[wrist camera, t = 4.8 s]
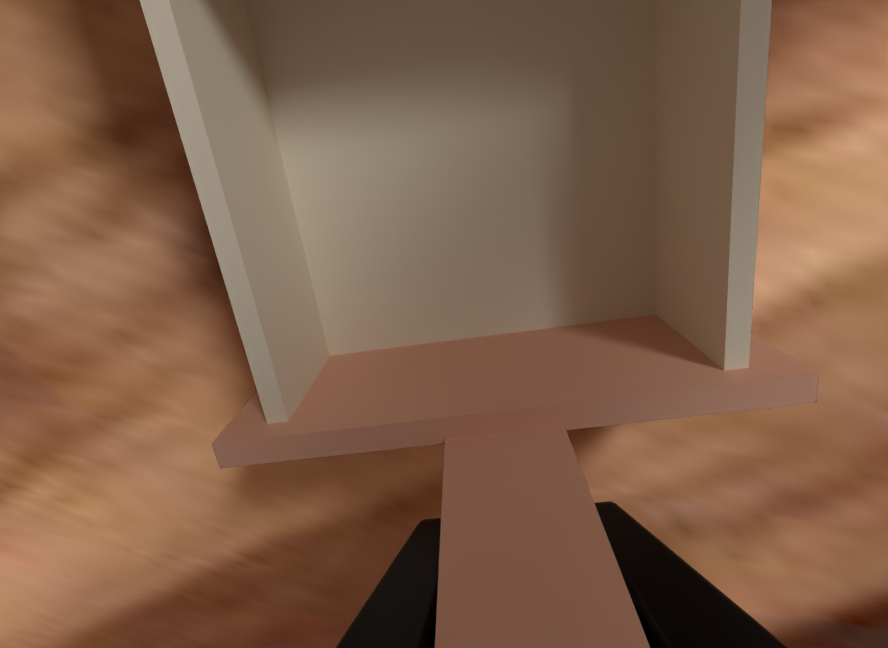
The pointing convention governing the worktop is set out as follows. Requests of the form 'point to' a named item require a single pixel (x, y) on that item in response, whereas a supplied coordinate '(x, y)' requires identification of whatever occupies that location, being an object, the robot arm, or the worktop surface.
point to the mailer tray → (484, 256)
